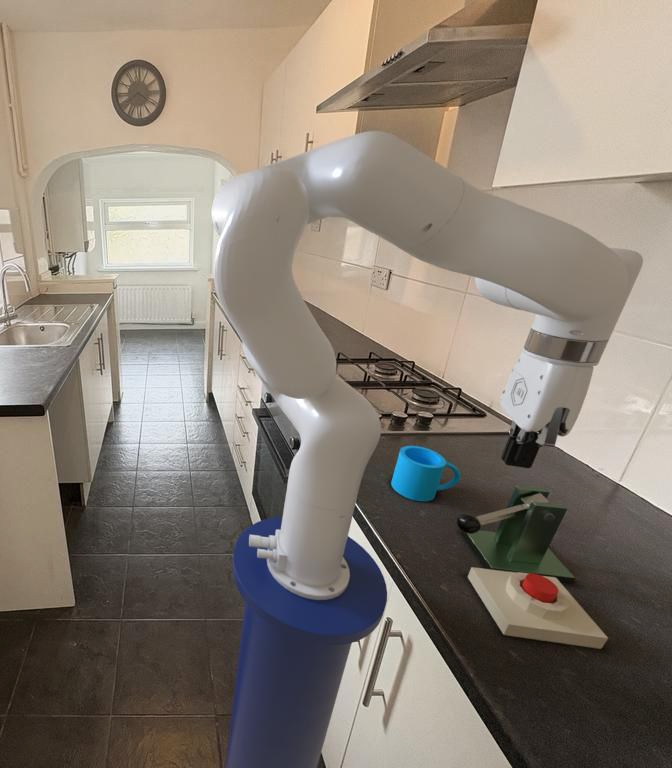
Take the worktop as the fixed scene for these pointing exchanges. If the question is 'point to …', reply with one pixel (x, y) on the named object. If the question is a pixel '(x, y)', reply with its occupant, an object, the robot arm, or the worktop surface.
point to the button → (540, 588)
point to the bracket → (524, 539)
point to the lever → (497, 514)
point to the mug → (421, 473)
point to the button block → (534, 610)
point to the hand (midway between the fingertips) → (515, 463)
